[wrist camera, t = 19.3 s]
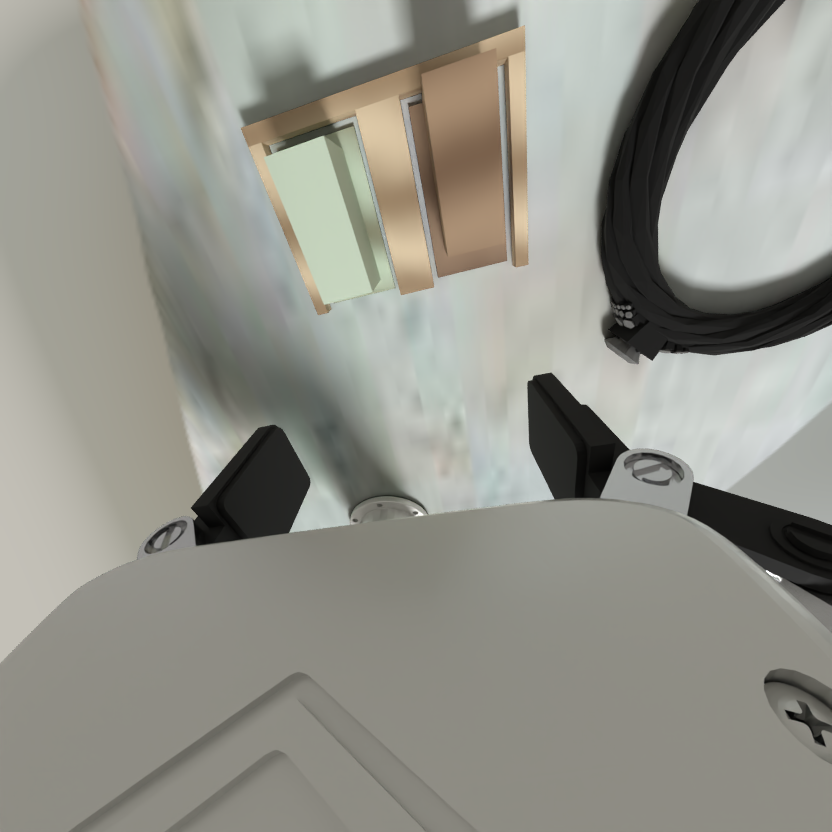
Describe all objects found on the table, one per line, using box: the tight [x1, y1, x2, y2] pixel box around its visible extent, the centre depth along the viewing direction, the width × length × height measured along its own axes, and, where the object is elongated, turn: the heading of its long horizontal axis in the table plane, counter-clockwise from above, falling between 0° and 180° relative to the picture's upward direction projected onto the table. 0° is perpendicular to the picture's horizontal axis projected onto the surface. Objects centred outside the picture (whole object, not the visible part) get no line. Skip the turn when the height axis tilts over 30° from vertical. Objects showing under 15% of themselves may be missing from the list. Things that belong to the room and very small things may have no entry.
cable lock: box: [601, 0, 832, 364], centre depth 21 cm, size 28×4×30 cm
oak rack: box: [241, 25, 528, 315], centre depth 23 cm, size 13×19×1 cm
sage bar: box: [264, 135, 381, 305], centre depth 22 cm, size 9×4×5 cm, turn 14°
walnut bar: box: [421, 48, 506, 257], centre depth 20 cm, size 9×4×5 cm, turn 13°
